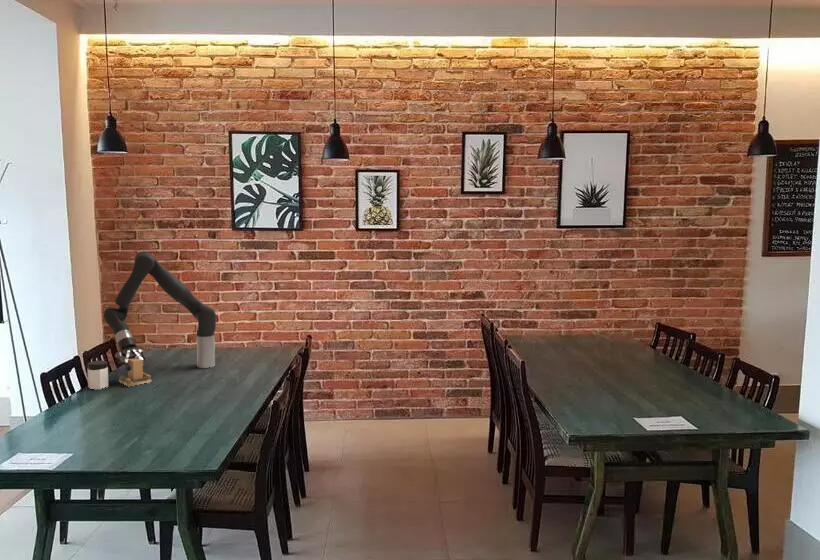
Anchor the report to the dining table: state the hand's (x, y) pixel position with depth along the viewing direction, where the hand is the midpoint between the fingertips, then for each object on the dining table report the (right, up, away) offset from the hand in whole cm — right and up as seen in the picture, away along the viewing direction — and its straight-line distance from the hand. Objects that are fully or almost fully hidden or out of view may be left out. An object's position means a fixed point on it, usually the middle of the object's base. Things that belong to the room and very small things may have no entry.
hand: (136, 368), depth 284 cm
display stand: (-1, -7, +2) cm, 8 cm away
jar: (-15, -8, -7) cm, 18 cm away
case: (-1, -6, +2) cm, 6 cm away
